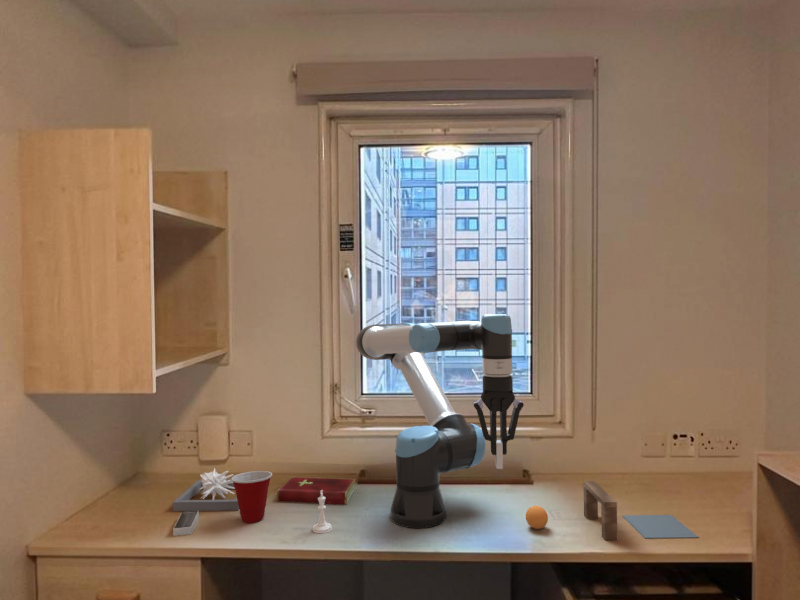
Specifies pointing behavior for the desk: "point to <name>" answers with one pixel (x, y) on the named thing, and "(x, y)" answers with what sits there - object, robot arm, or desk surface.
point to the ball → (536, 517)
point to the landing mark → (659, 526)
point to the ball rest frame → (203, 501)
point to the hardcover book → (316, 490)
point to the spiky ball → (215, 484)
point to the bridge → (608, 508)
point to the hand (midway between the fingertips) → (499, 467)
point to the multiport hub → (186, 523)
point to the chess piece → (322, 517)
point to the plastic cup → (252, 494)
